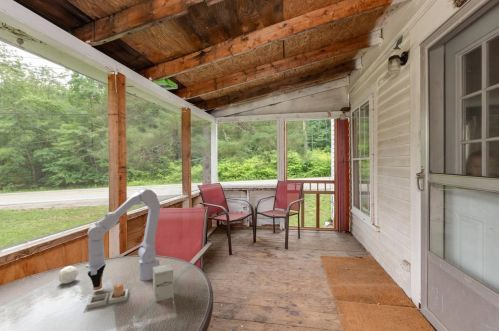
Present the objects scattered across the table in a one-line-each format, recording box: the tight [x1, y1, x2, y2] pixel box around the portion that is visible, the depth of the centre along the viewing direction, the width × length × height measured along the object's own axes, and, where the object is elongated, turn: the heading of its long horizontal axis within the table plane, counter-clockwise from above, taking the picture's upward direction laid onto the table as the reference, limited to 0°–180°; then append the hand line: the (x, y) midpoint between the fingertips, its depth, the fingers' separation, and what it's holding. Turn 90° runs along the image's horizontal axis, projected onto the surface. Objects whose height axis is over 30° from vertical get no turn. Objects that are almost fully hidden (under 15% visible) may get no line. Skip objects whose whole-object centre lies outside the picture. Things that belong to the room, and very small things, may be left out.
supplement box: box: [152, 263, 175, 303], centre depth 99 cm, size 7×7×13 cm
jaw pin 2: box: [113, 283, 124, 298], centre depth 98 cm, size 3×3×5 cm
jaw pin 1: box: [92, 276, 103, 291], centre depth 103 cm, size 3×3×5 cm
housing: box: [83, 288, 131, 313], centre depth 96 cm, size 15×11×3 cm
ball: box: [57, 265, 79, 285], centre depth 115 cm, size 8×8×8 cm
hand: (97, 284), depth 103 cm, fingers closed on jaw pin 1, 3 cm apart
